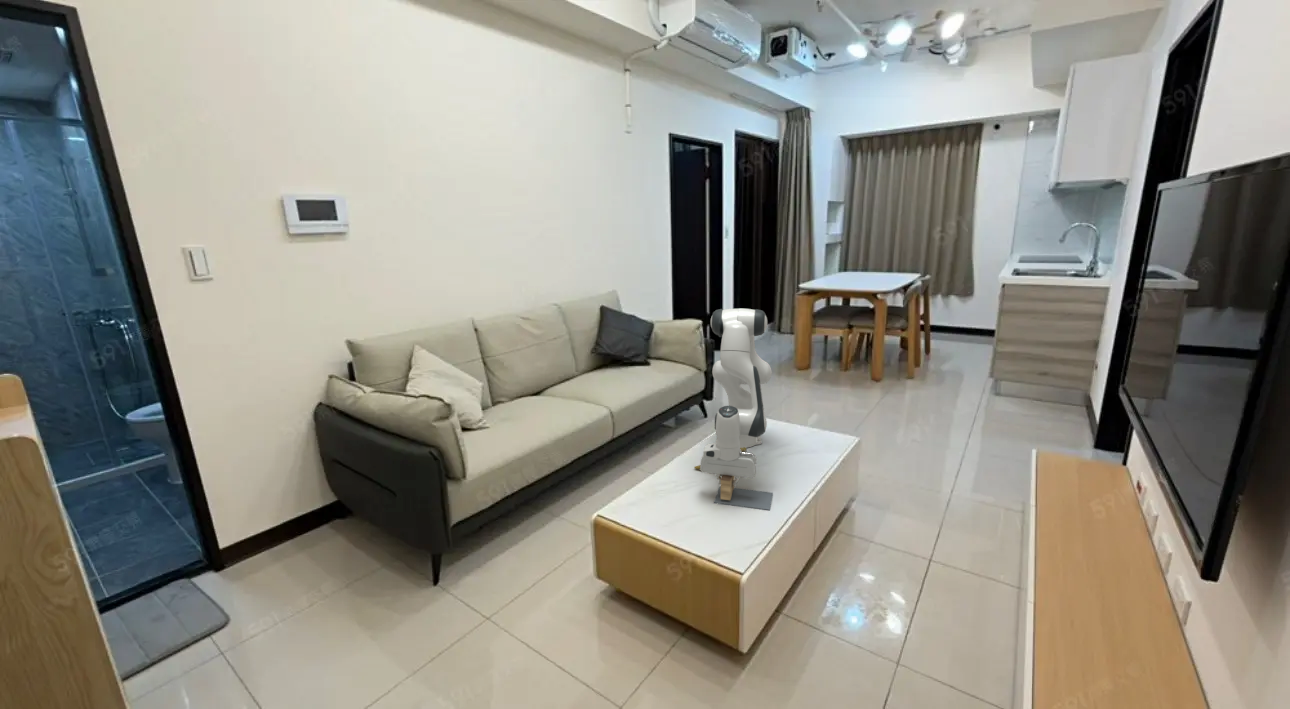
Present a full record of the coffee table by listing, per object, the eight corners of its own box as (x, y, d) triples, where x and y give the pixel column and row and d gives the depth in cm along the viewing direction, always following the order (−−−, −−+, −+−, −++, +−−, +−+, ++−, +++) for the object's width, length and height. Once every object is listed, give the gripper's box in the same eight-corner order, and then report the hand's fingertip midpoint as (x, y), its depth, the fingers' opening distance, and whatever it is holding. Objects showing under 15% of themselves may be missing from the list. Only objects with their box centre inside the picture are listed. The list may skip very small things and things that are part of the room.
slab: (725, 485, 202) (725, 466, 200) (734, 486, 201) (734, 467, 199) (720, 499, 193) (720, 479, 191) (730, 500, 192) (730, 480, 190)
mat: (719, 486, 204) (719, 486, 204) (772, 493, 198) (772, 492, 198) (713, 503, 193) (713, 502, 193) (769, 510, 187) (769, 509, 187)
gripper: (757, 449, 192) (757, 484, 196) (702, 444, 198) (702, 477, 202) (755, 457, 186) (755, 492, 190) (698, 451, 192) (699, 485, 196)
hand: (727, 484), depth 196 cm, fingers closed on slab, 3 cm apart
